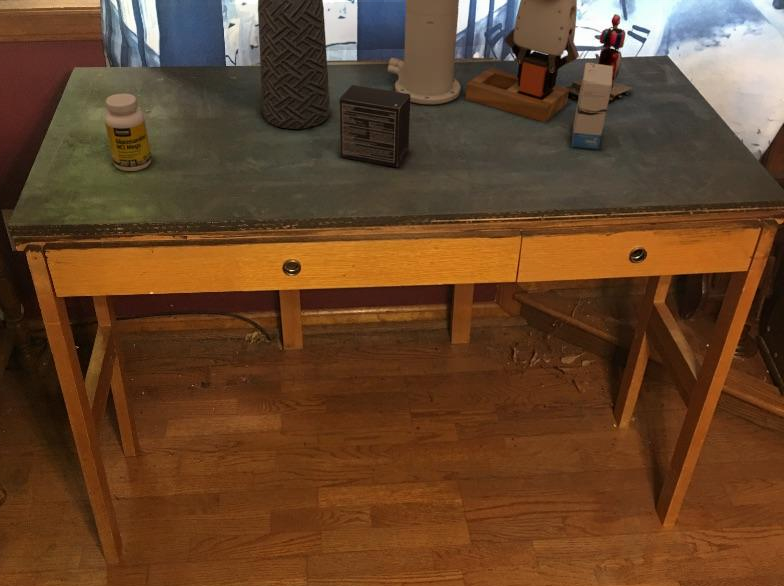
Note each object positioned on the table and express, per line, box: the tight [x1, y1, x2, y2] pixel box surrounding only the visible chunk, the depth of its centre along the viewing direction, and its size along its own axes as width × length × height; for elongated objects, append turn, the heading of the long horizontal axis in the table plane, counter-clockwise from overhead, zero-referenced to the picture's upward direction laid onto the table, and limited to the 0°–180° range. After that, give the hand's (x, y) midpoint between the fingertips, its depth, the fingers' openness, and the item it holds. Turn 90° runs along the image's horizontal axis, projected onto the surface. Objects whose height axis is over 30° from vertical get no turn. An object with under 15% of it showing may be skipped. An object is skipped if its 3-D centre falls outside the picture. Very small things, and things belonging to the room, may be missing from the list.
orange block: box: [519, 51, 549, 97], centre depth 157 cm, size 4×4×6 cm
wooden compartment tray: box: [465, 67, 569, 123], centre depth 162 cm, size 9×17×3 cm, turn 56°
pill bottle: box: [104, 93, 152, 172], centre depth 139 cm, size 6×6×11 cm
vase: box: [257, 0, 331, 130], centre depth 147 cm, size 12×12×28 cm
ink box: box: [571, 62, 613, 150], centre depth 148 cm, size 8×5×12 cm, turn 168°
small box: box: [339, 84, 411, 168], centre depth 143 cm, size 11×6×10 cm, turn 71°
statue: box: [565, 13, 633, 102], centre depth 162 cm, size 11×9×15 cm
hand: (535, 86), depth 159 cm, fingers closed on orange block, 4 cm apart
